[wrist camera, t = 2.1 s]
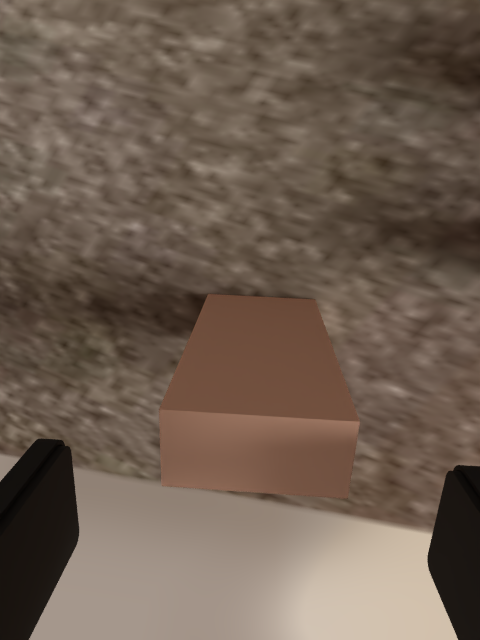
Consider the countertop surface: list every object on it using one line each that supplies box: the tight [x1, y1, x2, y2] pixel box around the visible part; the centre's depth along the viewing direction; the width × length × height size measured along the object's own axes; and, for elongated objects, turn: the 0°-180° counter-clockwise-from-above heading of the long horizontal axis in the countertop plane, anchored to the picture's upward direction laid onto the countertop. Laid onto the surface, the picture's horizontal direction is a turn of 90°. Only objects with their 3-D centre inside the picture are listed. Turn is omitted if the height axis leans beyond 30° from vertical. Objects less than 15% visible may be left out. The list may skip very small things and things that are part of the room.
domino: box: [159, 294, 360, 499], centre depth 16 cm, size 2×5×10 cm, turn 88°
